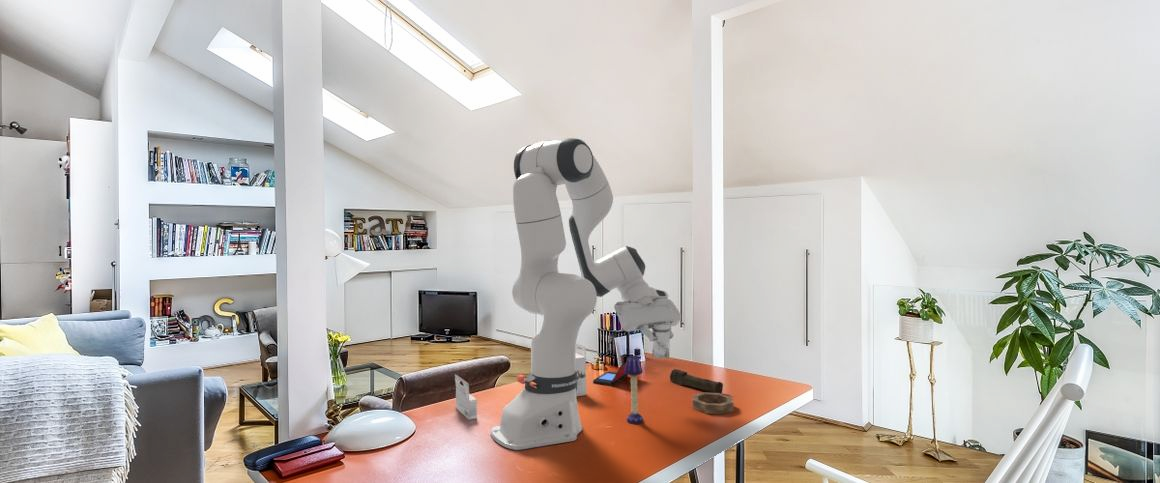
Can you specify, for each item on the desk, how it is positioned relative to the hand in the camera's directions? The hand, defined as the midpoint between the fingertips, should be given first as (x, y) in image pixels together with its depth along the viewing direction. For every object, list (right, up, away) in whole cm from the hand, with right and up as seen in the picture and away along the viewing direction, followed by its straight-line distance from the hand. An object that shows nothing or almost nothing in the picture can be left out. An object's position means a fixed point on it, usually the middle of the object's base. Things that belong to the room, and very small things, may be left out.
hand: (662, 338), depth 146 cm
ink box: (-25, -19, +13) cm, 34 cm away
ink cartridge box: (-54, -20, -5) cm, 58 cm away
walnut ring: (+14, -19, 0) cm, 24 cm away
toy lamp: (-9, -19, -11) cm, 24 cm away
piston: (0, -5, +1) cm, 5 cm away
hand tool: (+12, -19, +17) cm, 29 cm away
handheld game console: (-12, -19, +26) cm, 34 cm away
